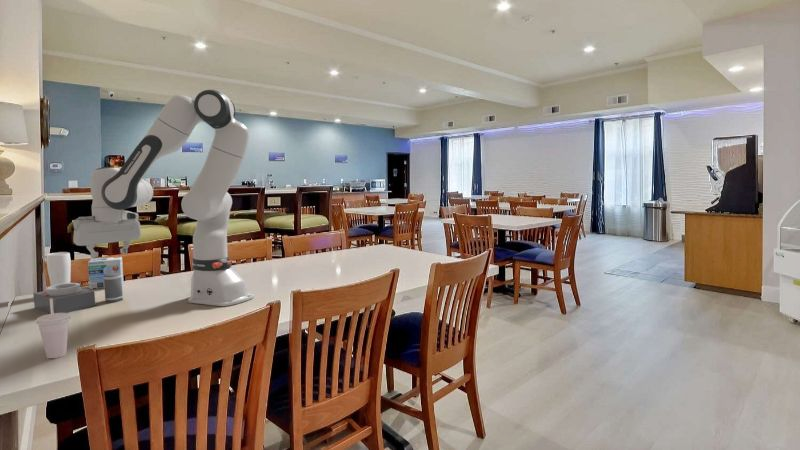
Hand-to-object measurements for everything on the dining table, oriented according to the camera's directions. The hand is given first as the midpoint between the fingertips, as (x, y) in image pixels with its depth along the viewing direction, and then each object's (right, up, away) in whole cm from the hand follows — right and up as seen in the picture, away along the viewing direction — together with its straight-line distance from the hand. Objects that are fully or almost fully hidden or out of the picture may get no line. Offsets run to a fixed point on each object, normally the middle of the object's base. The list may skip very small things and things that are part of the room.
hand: (109, 255), depth 148 cm
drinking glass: (-23, -15, +9) cm, 29 cm away
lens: (0, -16, +2) cm, 16 cm away
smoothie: (+17, -21, -44) cm, 51 cm away
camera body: (-11, -17, -6) cm, 20 cm away
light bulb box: (-15, -14, +21) cm, 30 cm away
